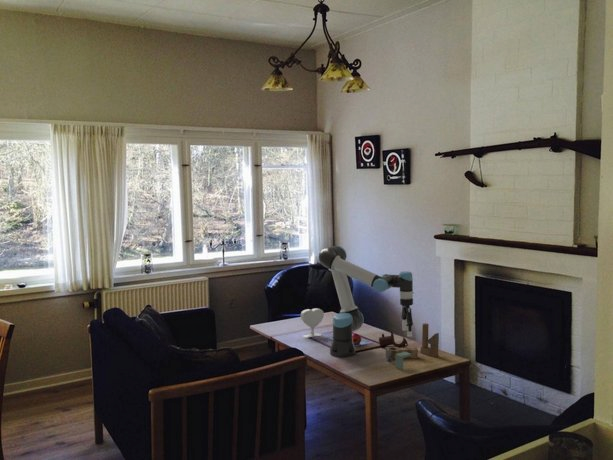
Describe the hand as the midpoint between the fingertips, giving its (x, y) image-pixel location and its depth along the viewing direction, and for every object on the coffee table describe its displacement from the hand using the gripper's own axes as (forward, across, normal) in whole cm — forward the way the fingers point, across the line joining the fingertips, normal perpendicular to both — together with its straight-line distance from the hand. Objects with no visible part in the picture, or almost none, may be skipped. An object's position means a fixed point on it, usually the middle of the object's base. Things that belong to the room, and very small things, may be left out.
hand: (407, 333), depth 319 cm
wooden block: (+14, +3, -14) cm, 20 cm away
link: (+14, -1, +4) cm, 14 cm away
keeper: (+14, -18, +6) cm, 24 cm away
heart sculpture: (+11, +44, +55) cm, 72 cm away
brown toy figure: (+14, +19, +5) cm, 24 cm away
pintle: (+14, -8, +13) cm, 20 cm away
